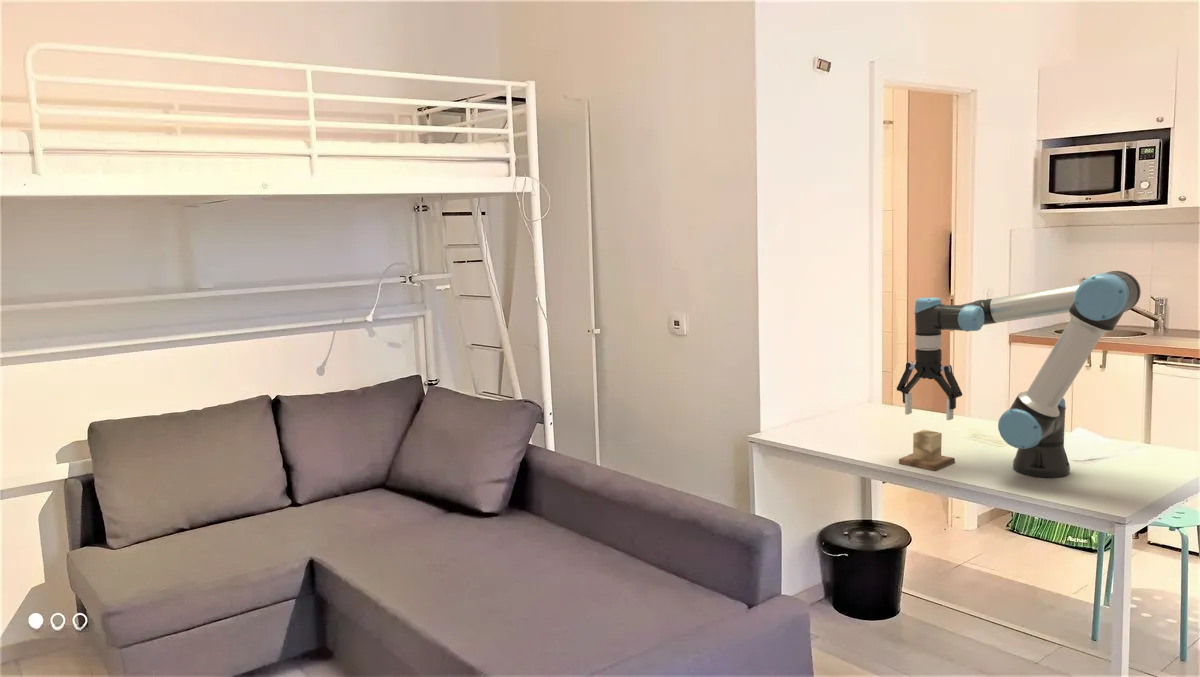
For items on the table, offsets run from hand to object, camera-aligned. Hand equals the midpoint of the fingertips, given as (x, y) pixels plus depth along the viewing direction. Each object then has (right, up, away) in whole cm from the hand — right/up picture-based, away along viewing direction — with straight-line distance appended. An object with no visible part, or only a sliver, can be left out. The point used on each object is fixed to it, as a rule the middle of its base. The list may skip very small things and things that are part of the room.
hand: (928, 416), depth 271 cm
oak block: (0, -13, +2) cm, 13 cm away
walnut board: (0, -15, +2) cm, 15 cm away
